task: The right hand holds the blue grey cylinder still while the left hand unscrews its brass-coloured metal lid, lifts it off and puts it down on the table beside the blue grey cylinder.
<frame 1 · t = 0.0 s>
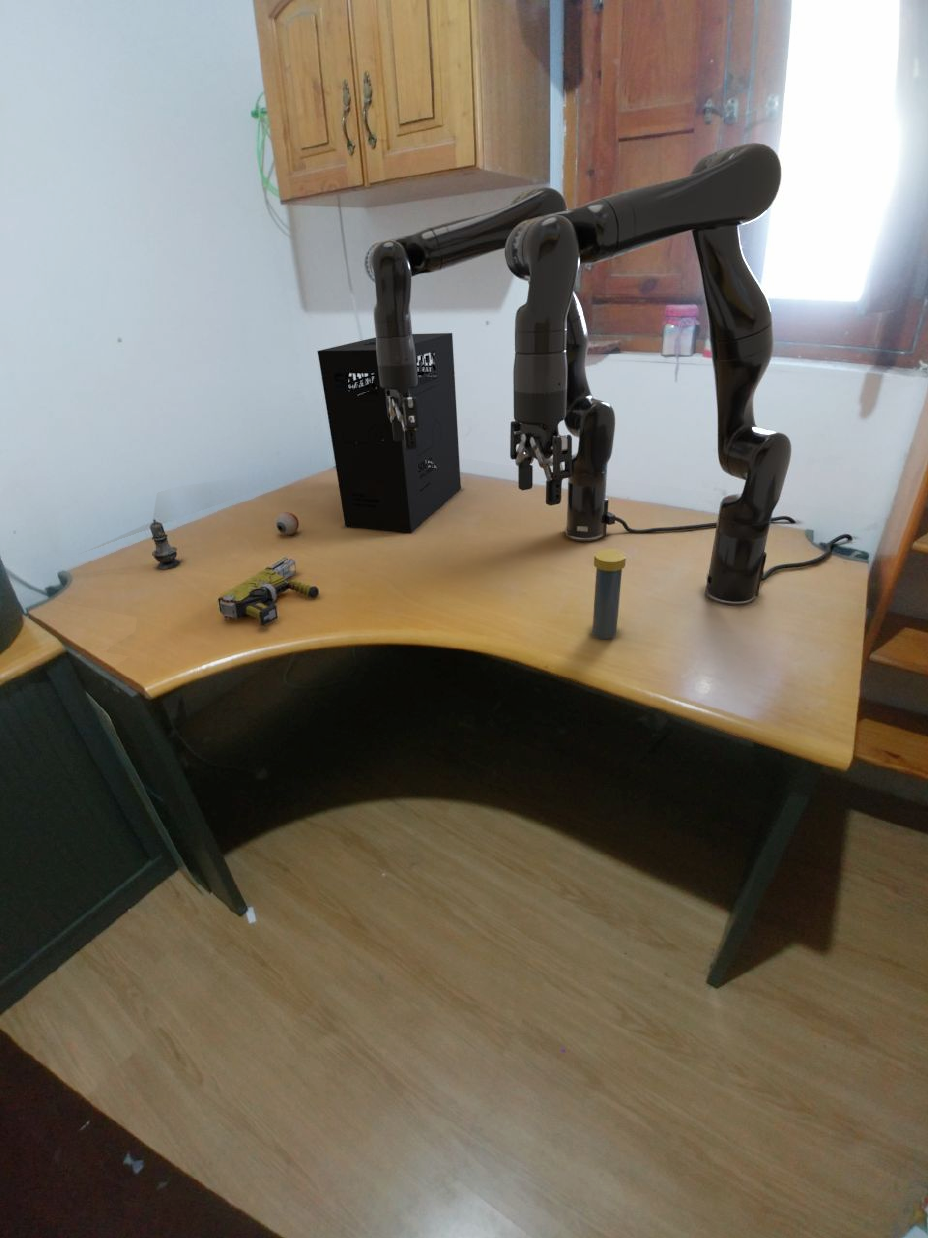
left hand: (404, 444, 126), 29 cm above the table, tool pointing down, fingers open, 8 cm apart
right hand: (538, 496, 93), 29 cm above the table, tool pointing down, fingers open, 8 cm apart
blue grey cylinder: (604, 632, 113), on the table
toy gun: (282, 599, 132), on the table
lid: (610, 557, 105), point 16 cm above the table, screwed on, not yet turned
cardboard box: (407, 506, 180), on the table
eyeball: (289, 534, 165), on the table
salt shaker: (168, 565, 151), on the table
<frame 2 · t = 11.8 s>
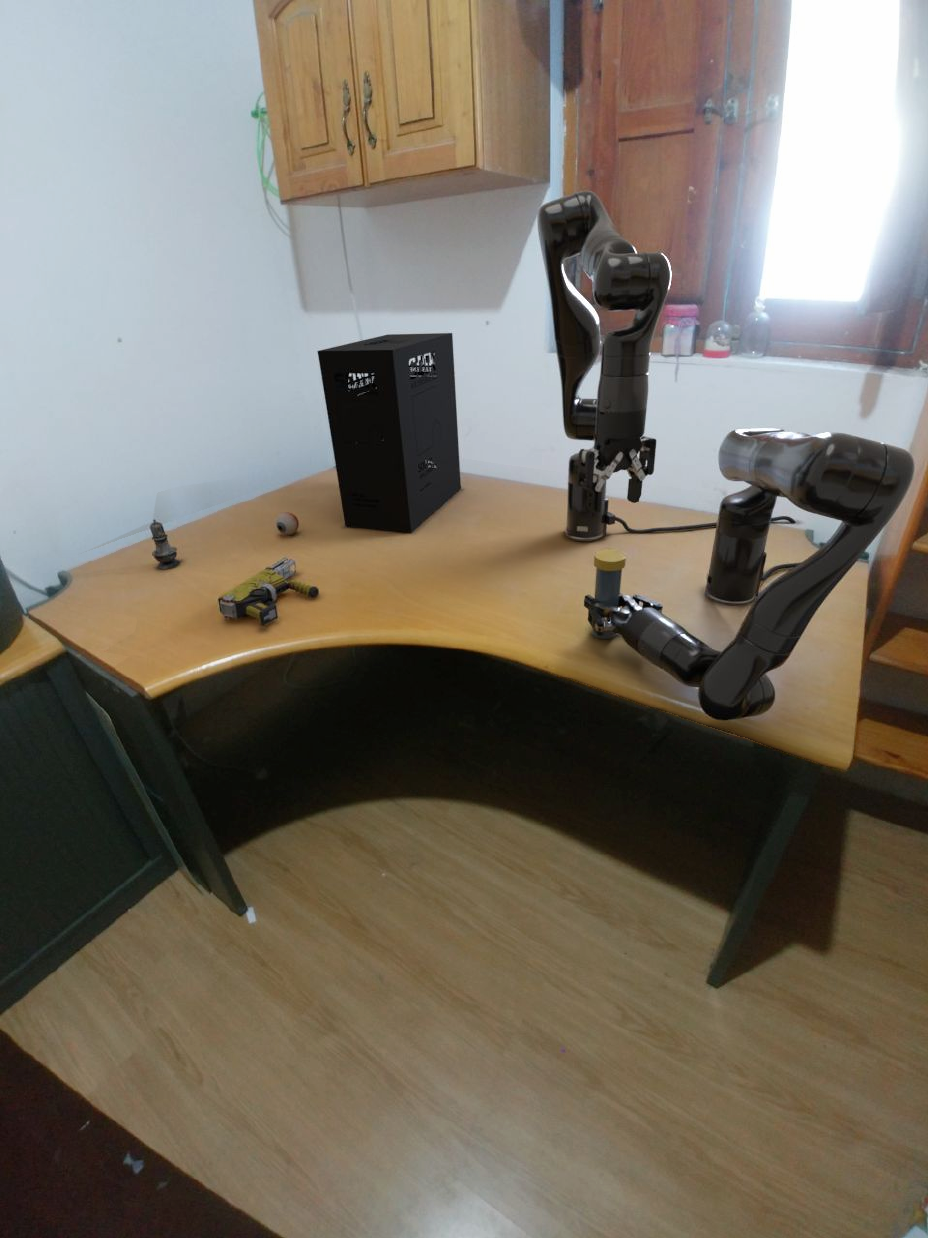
left hand: (613, 506, 101), 25 cm above the table, tool pointing down, fingers open, 7 cm apart
right hand: (597, 596, 112), 7 cm above the table, tool horizontal, fingers closed on blue grey cylinder, 4 cm apart
blue grey cylinder: (604, 632, 113), on the table, touching right hand
everything else where it was.
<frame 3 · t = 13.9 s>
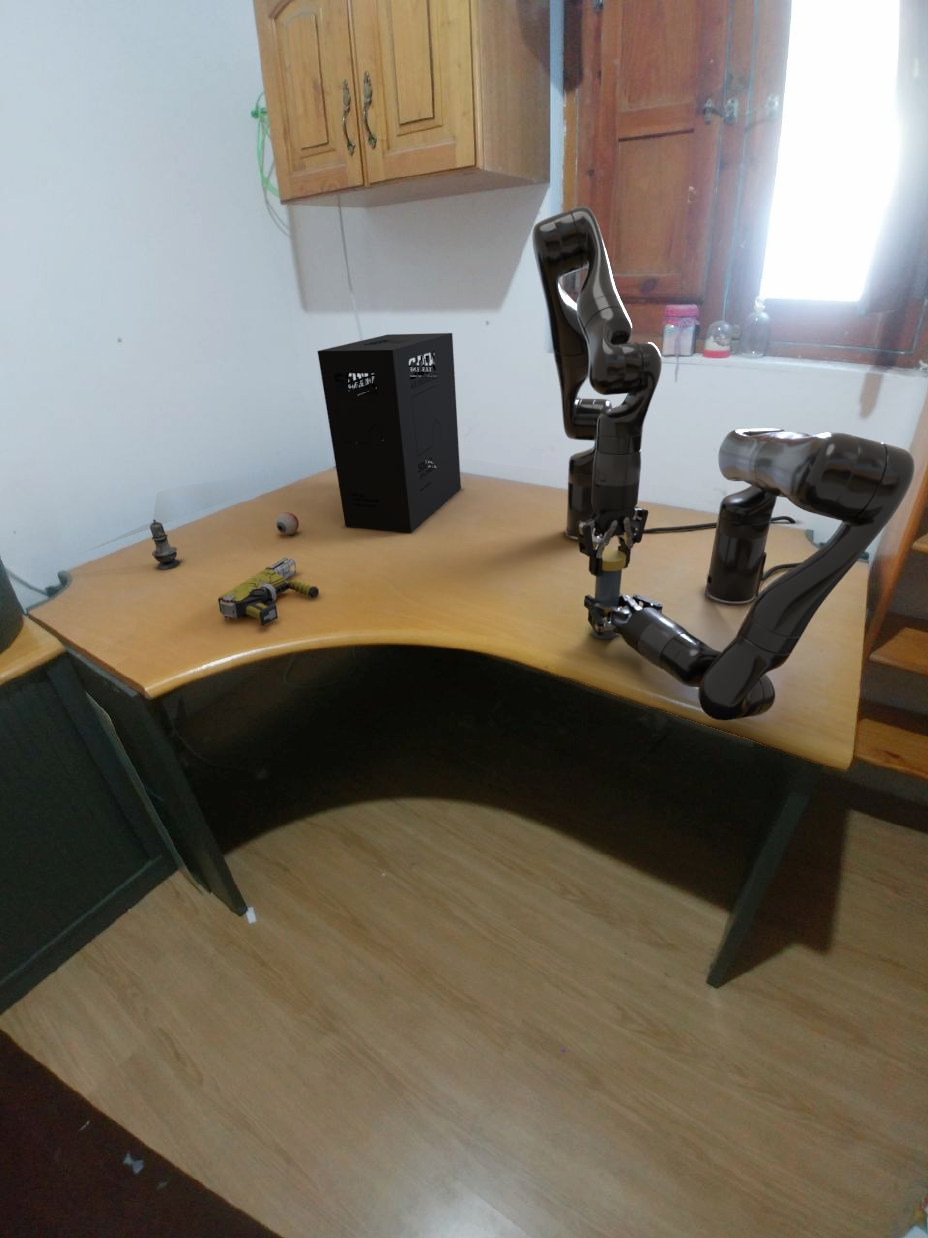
left hand: (608, 570, 107), 13 cm above the table, tool pointing down, fingers closed on lid, 5 cm apart
right hand: (597, 596, 112), 6 cm above the table, tool horizontal, fingers closed on blue grey cylinder, 4 cm apart
blue grey cylinder: (604, 633, 113), on the table, touching right hand
lid: (610, 557, 105), point 16 cm above the table, screwed on, not yet turned, touching left hand
everything else where it was.
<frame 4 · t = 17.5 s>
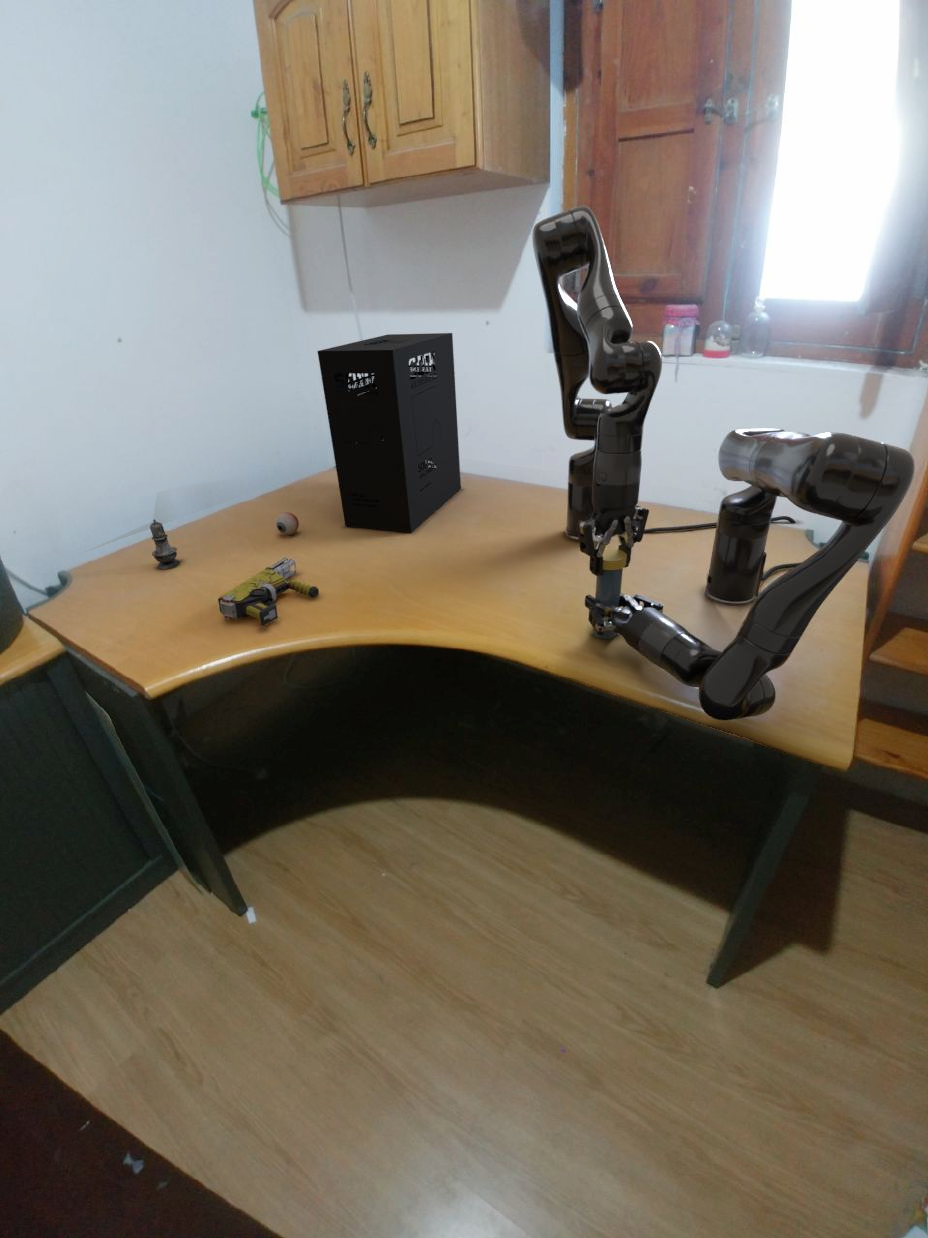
left hand: (609, 569, 107), 13 cm above the table, tool pointing down, fingers closed on lid, 5 cm apart
right hand: (598, 596, 112), 7 cm above the table, tool horizontal, fingers closed on blue grey cylinder, 4 cm apart
blue grey cylinder: (605, 632, 113), on the table, touching right hand
lid: (610, 556, 105), point 16 cm above the table, turned 91° so far, risen 0.1 cm, still on its thread, touching left hand
everything else where it was.
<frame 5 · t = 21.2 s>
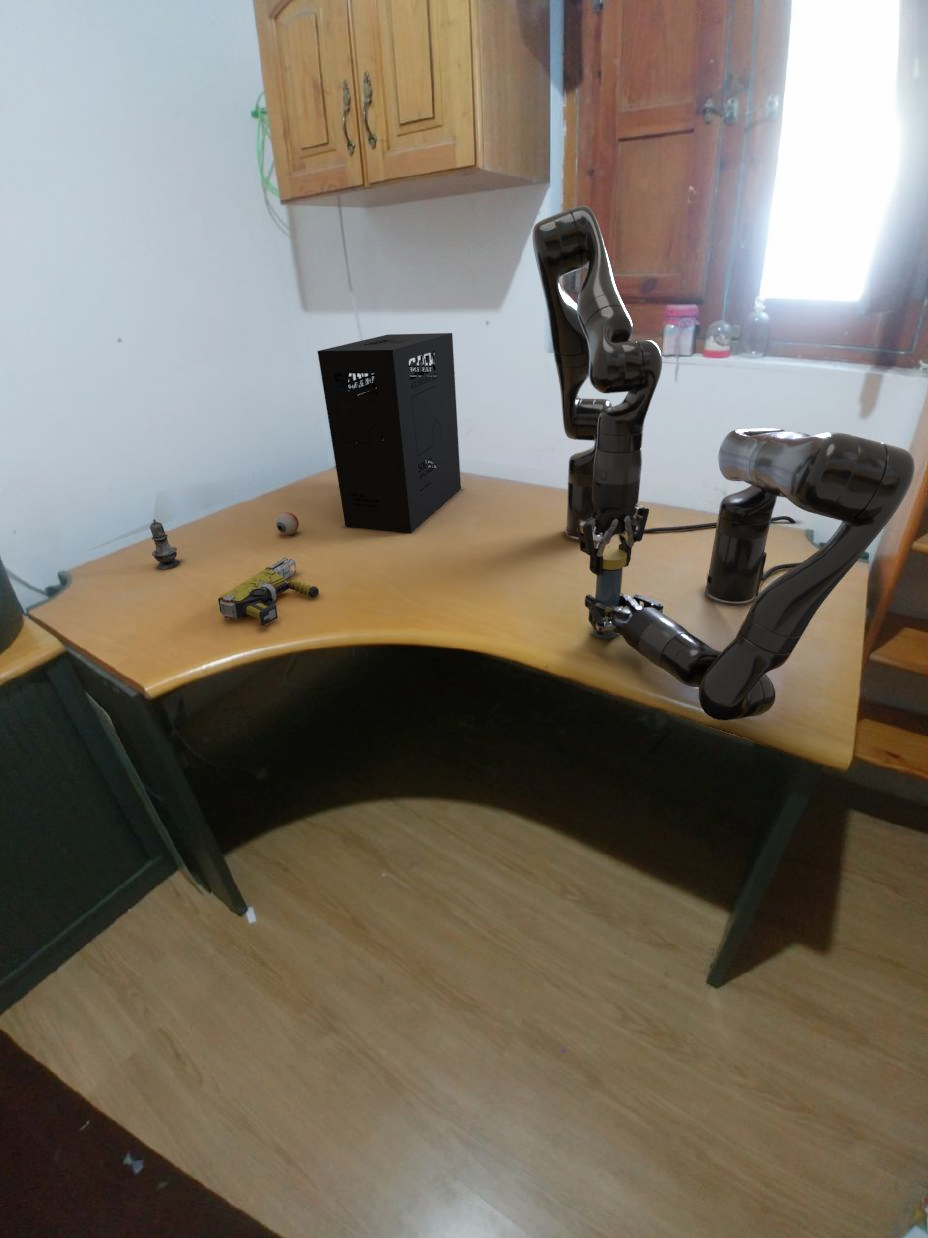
left hand: (609, 569, 106), 13 cm above the table, tool pointing down, fingers closed on lid, 5 cm apart
right hand: (598, 596, 112), 7 cm above the table, tool horizontal, fingers closed on blue grey cylinder, 4 cm apart
blue grey cylinder: (605, 632, 113), on the table, touching right hand
lid: (610, 555, 105), point 16 cm above the table, turned 182° so far, risen 0.2 cm, still on its thread, touching left hand
everything else where it was.
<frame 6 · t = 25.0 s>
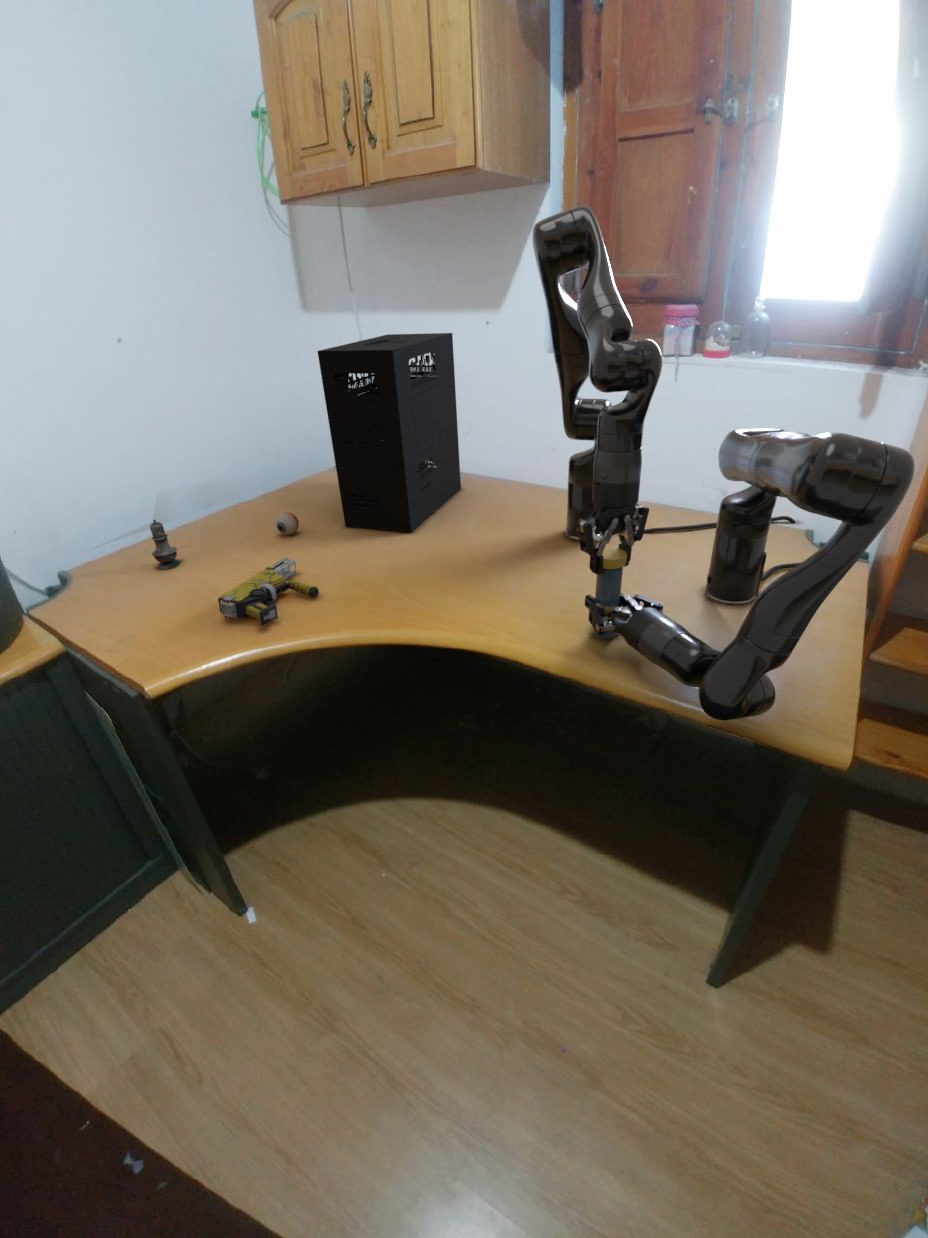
left hand: (609, 568, 106), 13 cm above the table, tool pointing down, fingers closed on lid, 5 cm apart
right hand: (598, 596, 112), 7 cm above the table, tool horizontal, fingers closed on blue grey cylinder, 4 cm apart
blue grey cylinder: (605, 632, 113), on the table, touching right hand
lid: (610, 554, 105), point 16 cm above the table, turned 274° so far, risen 0.4 cm, still on its thread, touching left hand
everything else where it was.
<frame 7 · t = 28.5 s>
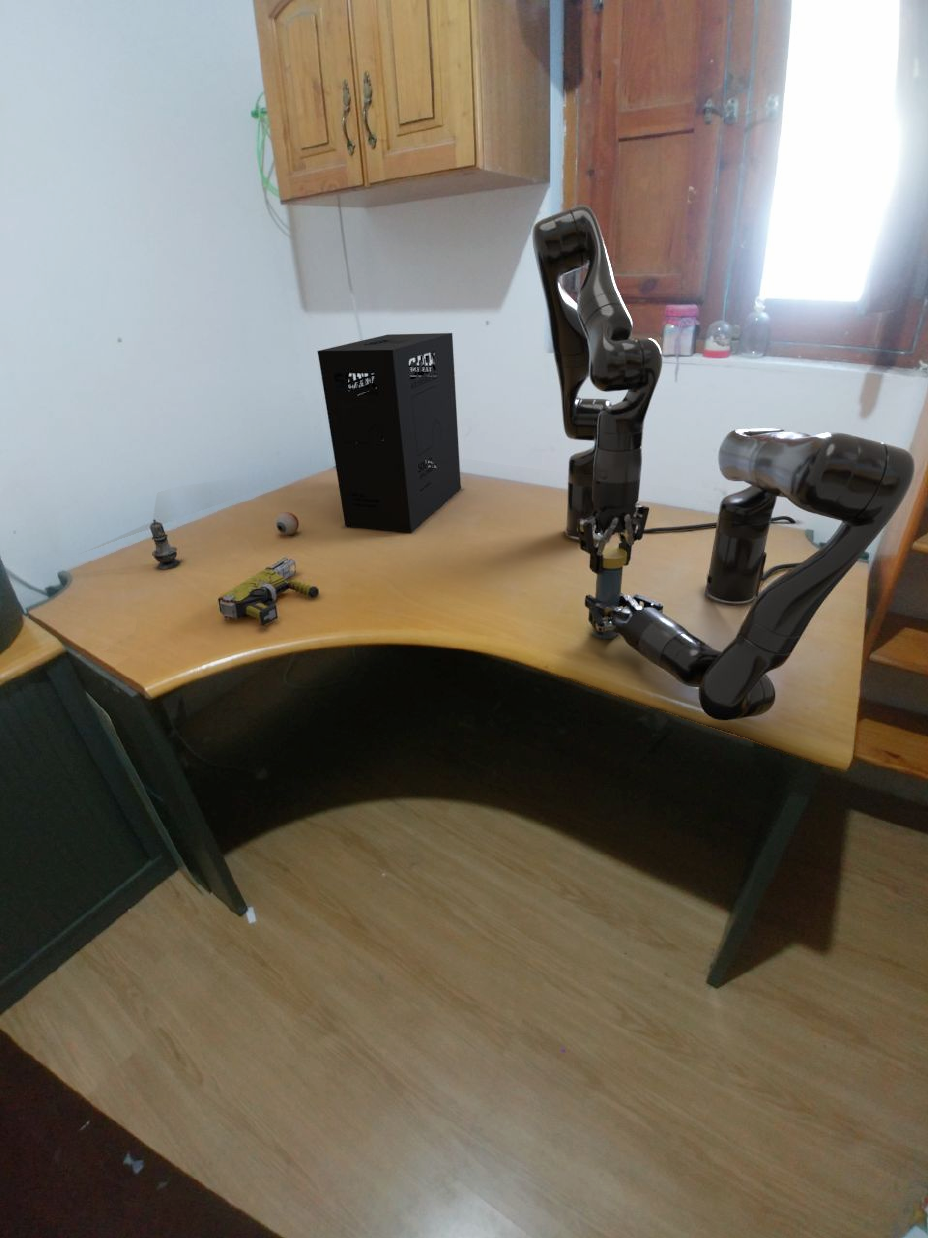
left hand: (609, 567, 106), 13 cm above the table, tool pointing down, fingers closed on lid, 5 cm apart
right hand: (598, 596, 112), 7 cm above the table, tool horizontal, fingers closed on blue grey cylinder, 4 cm apart
blue grey cylinder: (605, 632, 113), on the table, touching right hand
lid: (610, 554, 105), point 16 cm above the table, turned 365° so far, risen 0.5 cm, still on its thread, touching left hand
everything else where it was.
when the left hand's fingers open (0 cm above the table, at t = 34.7 s): lid drops 2 cm, point 1 cm above the table.
when the right hand's fingers open (7 cm above the table, at t = 35.7 s): blue grey cylinder stays where it is, on the table.
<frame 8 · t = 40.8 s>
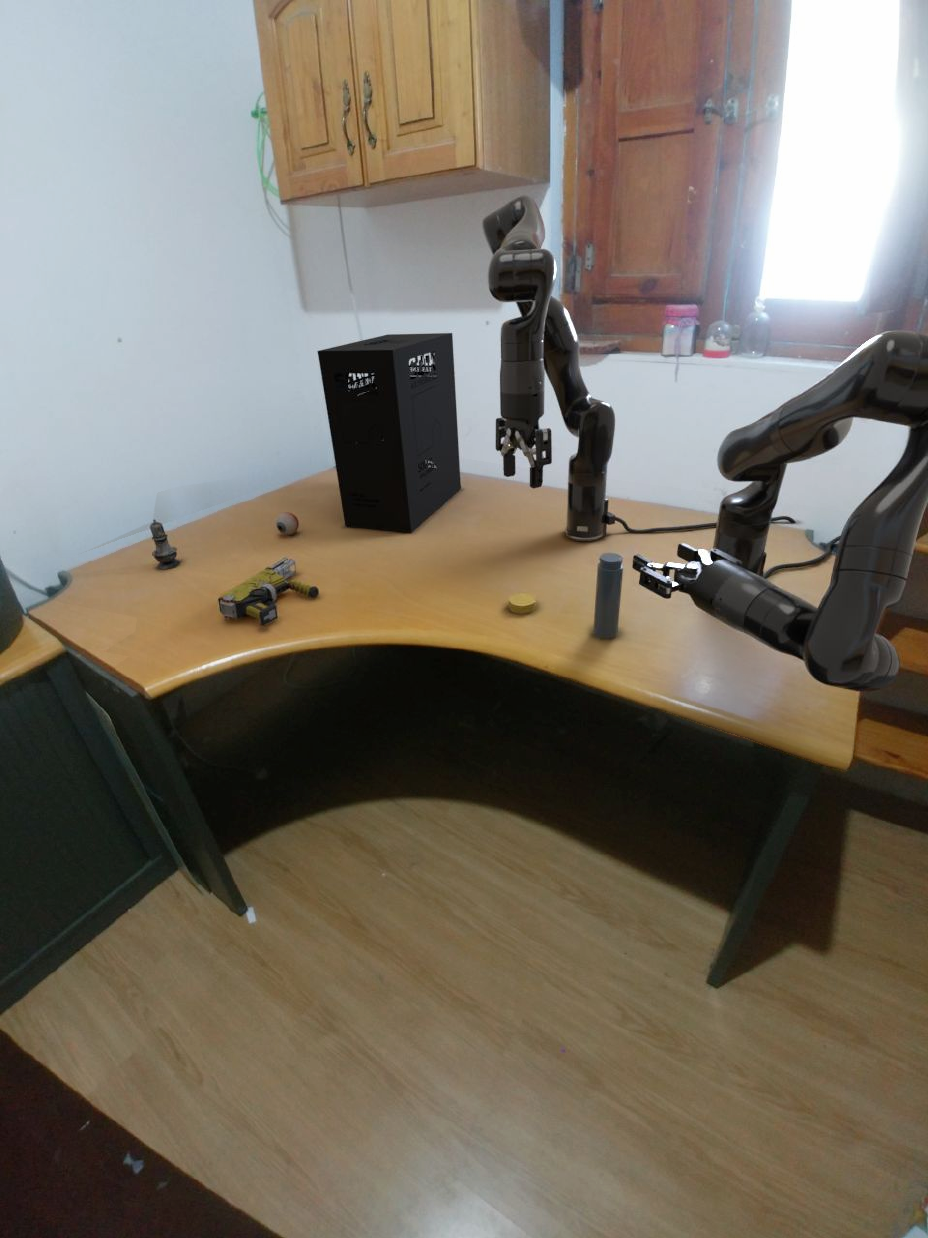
left hand: (522, 481, 110), 26 cm above the table, tool pointing down, fingers open, 8 cm apart
right hand: (657, 554, 93), 20 cm above the table, tool horizontal, fingers open, 8 cm apart
blue grey cylinder: (605, 632, 113), on the table
lid: (522, 601, 122), point 1 cm above the table, off its thread
everything else where it was.
at the end: lid came off its thread; lid point 1.5 cm above the table; the left hand is holding nothing; the right hand is holding nothing; blue grey cylinder tilted 0°; blue grey cylinder moved 0.3 cm from its start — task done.
